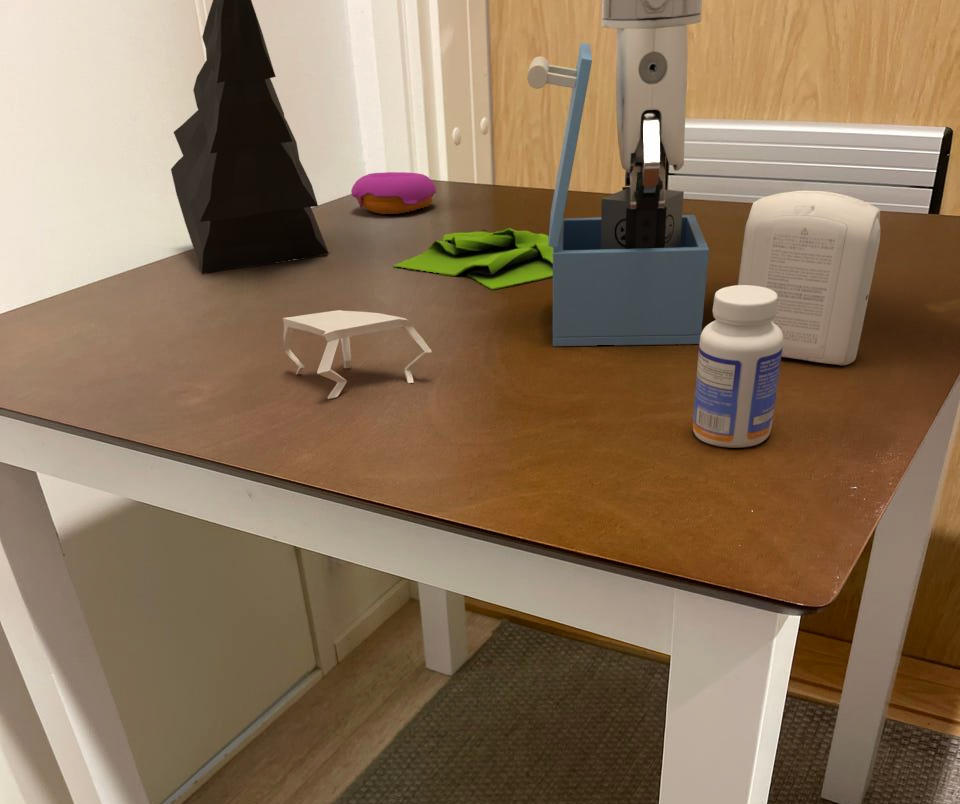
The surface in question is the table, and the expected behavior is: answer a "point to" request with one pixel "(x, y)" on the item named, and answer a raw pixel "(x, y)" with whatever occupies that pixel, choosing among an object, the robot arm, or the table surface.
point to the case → (627, 289)
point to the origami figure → (346, 337)
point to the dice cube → (616, 219)
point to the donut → (393, 192)
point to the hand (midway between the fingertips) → (641, 245)
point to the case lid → (578, 81)
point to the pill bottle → (738, 368)
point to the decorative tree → (242, 155)
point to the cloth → (489, 257)
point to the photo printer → (814, 269)
